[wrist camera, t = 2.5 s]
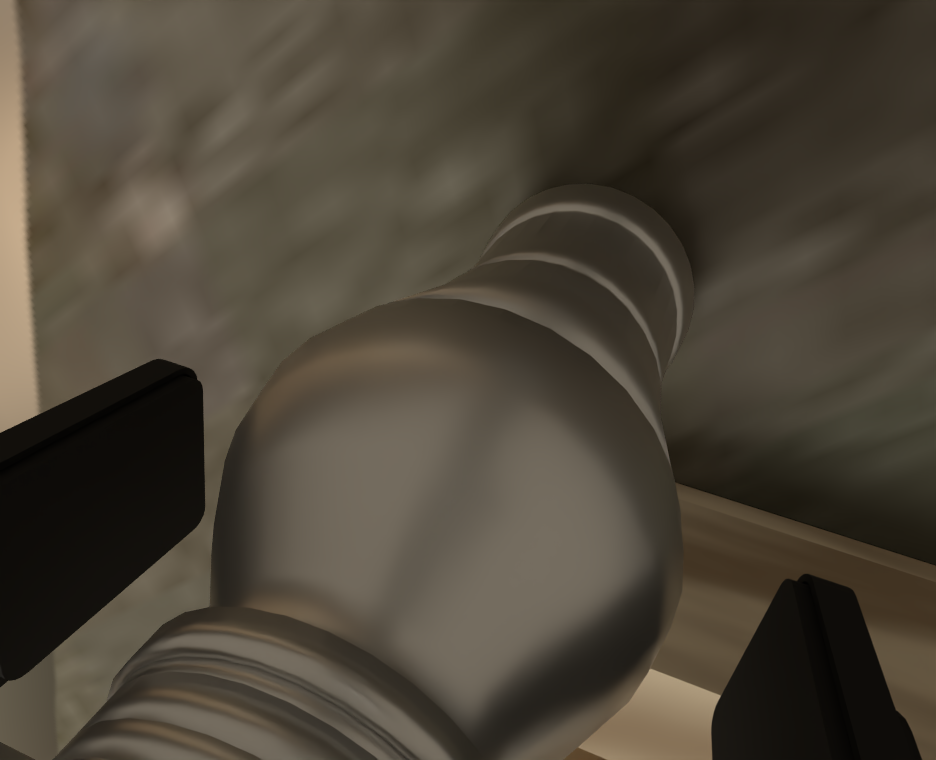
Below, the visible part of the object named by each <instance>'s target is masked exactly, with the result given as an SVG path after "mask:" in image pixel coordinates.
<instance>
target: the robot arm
mask: <svg viewBox="0 0 936 760" xmlns="http://www.w3.org/2000/svg"><path fill="white" fill-rule="evenodd" d="M204 511H205V475H204V421H203V388H202V384H201V382H200V381H198V380H197V376H196V374H195V372H194V371H193V370H192V369H190V368H187V367H184V366H181V365H178V364H175V363H172V362H169V361H166V360H163V359H156V360H152V361H150V362H148V363H146V364H144V365H142V366H140V367H137V368H135V369H133V370H131V371H129V372H127V373H125V374H123V375H121V376H119V377H116V378H114V379H112V380H110V381H108V382H106V383H104V384H102V385H100V386H98V387H96V388H93V389H91V390H89V391H87V392H85V393H83V394H81V395H79V396H77V397H75V398H72V399H70V400H68V401H66V402H64V403H62V404H60V405H58V406H56V407H54V408H52V409H49V410H47V411H45V412H43V413H41V414H39V415H37V416H35V417H33V418H31V419H28V420H26V421H24V422H22V423H20V424H18V425H16V426H14V427H12V428H10V429H7V430H5V431H3V432H1V433H0V687H1V686H2V685H4V684H5V683H6V682H7V681H8V680H9V681H10V680H16V679H18V678H20V677H22V676H23V675H25V674H26V673H28V672H29V671H30V670H31V669H32V668H34V667H35V666H36V665H37V664H38V663H39V662H41V661H42V660H43V659H44V658H45V657H46V656H48V655H49V654H50V653H51V652H52V651H53V650H54V649H56V648H57V647H58V646H59V645H60V644H61V643H63V642H64V641H65V640H66V639H67V638H68V637H70V636H71V635H72V634H73V633H74V632H75V631H77V630H78V629H79V628H80V627H81V626H82V625H84V624H85V623H86V622H87V621H88V620H89V619H90V618H92V617H93V616H94V615H95V614H96V613H97V612H99V611H100V610H101V609H102V608H103V607H104V606H106V605H107V604H108V603H109V602H110V601H111V600H113V599H114V598H115V597H116V596H117V595H118V594H120V593H121V592H122V591H123V590H124V589H125V588H126V587H128V586H129V585H130V584H131V583H132V582H133V581H135V580H136V579H137V578H138V577H139V576H140V575H142V574H143V573H144V572H145V571H146V570H147V569H149V568H150V567H151V566H152V565H153V564H154V563H156V562H157V561H158V560H159V559H160V558H161V557H162V556H164V555H165V554H166V553H167V552H168V551H169V550H171V549H172V548H173V547H174V546H175V545H176V544H178V543H179V542H180V541H181V540H182V539H183V538H185V537H186V536H187V535H188V534H189V533H190V532H192V531H193V530H194V529H195V528H196V527H197V526H198V524H199V523H200V521H201V519H202V517H203V515H204ZM711 741H712V760H922V758H921V755H920V752H919V749H918V747H917V744H916V741H915V738H914V736H913V733H912V730H911V728H910V726H909V724H908V722H907V720H906V719H905V718H904V717H903V716H902V715H901V714H900V713H899V712H898V711H896V709H895V706H894V703H893V700H892V697H891V694H890V692H889V689H888V686H887V683H886V680H885V677H884V674H883V671H882V669H881V666H880V663H879V660H878V657H877V654H876V651H875V648H874V646H873V643H872V640H871V637H870V634H869V631H868V628H867V625H866V623H865V620H864V617H863V614H862V611H861V608H860V605H859V602H858V600H857V597H856V594H855V593H854V591H853V590H852V589H851V588H849V587H847V586H844V585H840V584H837V583H834V582H831V581H828V580H825V579H822V578H819V577H816V576H813V575H810V574H803V575H802V576H801V577H799V579H798V580H797V581H795V580H792V579H785V580H784V581H783V582H782V584H781V585H780V587H779V589H778V591H777V593H776V594H775V596H774V598H773V600H772V602H771V604H770V606H769V607H768V609H767V611H766V613H765V615H764V617H763V619H762V620H761V622H760V624H759V626H758V628H757V630H756V632H755V633H754V635H753V637H752V639H751V641H750V643H749V645H748V646H747V648H746V650H745V652H744V654H743V656H742V658H741V659H740V661H739V663H738V665H737V667H736V669H735V671H734V672H733V674H732V676H731V678H730V680H729V682H728V684H727V685H726V687H725V689H724V691H723V693H722V695H721V697H720V698H719V700H718V702H717V704H716V707H715V710H714V713H713V718H712V725H711ZM0 760H35V759H33V758H31V757H29V756H27V755H25V754H23V753H20V752H19V751H17V750H15V749H13V748H11V747H9V746H7V745H5V744H3V743H1V742H0Z"/></svg>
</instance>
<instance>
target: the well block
mask: <svg viewBox="0 0 936 760" xmlns="http://www.w3.org/2000/svg"><path fill="white" fill-rule="evenodd" d="M675 485H676V490H677V495H678V500H679V504H680V509H681V526H682V539H683V549H684V555H683V582H682V594H681V597H680V600H679V603H678V606H677V610H676V613H675V616H674V619H673V622H672V626H671V628H670V630H669V632H668V634H667V636H666V638H665V640H664V642H663V644H662V646H661V648H660V650H659V652H658V654H657V656H656V658H655V660H654V662H653V664H652V666H651V668H650V670H649V672H648V674H647V675H646V677H645V678H644V680H643V681H642V683H641V684H640V686H639V687H638V689H637V690H636V692H635V693H634V695H633V696H632V698H631V699H630V701H629V702H628V703H627V704H626V705H625V706H624V707H623V708H621V709H620V710H619V711H618V712H617V713H616V714H615V715H614V716H612V717H611V718H610V719H609V720H608V721H607V722H606V723H605V724H603V725H602V726H601V727H600V728H599V729H598V730H597V731H596V732H594V733H593V734H592V735H591V736H590V737H589V738H588V739H587V740H585V741H584V742H583V743H582V744H581V745H580V746H579V747H577V748H576V749H575V750H574V751H573V752H572V753H570V754H569V755H568V756H567V757H566V758H565V759H563V760H712V741H711V725H712V718H713V713H714V710H715V707H716V704H717V702H718V700H719V698H720V697H721V695H722V693H723V691H724V689H725V687H726V685H727V684H728V682H729V680H730V678H731V676H732V674H733V672H734V671H735V669H736V667H737V665H738V663H739V661H740V659H741V658H742V656H743V654H744V652H745V650H746V648H747V646H748V645H749V643H750V641H751V639H752V637H753V635H754V633H755V632H756V630H757V628H758V626H759V624H760V622H761V620H762V619H763V617H764V615H765V613H766V611H767V609H768V607H769V606H770V604H771V602H772V600H773V598H774V596H775V594H776V593H777V591H778V589H779V587H780V585H781V584H782V582H783V581H784V580H785V579H792V580H795V581H797V580H798V579H799V577H801V576H802V575H803V574H810V575H813V576H816V577H819V578H822V579H825V580H828V581H831V582H834V583H837V584H840V585H844V586H847V587H849V588H851V589H852V590H853V591H854V593H855V594H856V597H857V600H858V602H859V605H860V608H861V611H862V614H863V617H864V620H865V623H866V625H867V628H868V631H869V634H870V637H871V640H872V643H873V646H874V648H875V651H876V654H877V657H878V660H879V663H880V666H881V669H882V671H883V674H884V677H885V680H886V683H887V686H888V689H889V692H890V694H891V697H892V700H893V703H894V706H895V709H896V711H898V712H899V713H900V714H901V715H902V716H903V717H904V718H905V719H906V720H907V722H908V724H909V726H910V728H911V730H912V733H913V736H914V738H915V741H916V744H917V747H918V749H919V752H920V755H921V758H922V760H936V566H935V565H932V564H929V563H925V562H922V561H919V560H916V559H913V558H910V557H907V556H904V555H900V554H897V553H894V552H891V551H888V550H885V549H882V548H879V547H875V546H872V545H869V544H866V543H863V542H860V541H857V540H854V539H850V538H847V537H844V536H841V535H838V534H835V533H832V532H828V531H825V530H822V529H819V528H816V527H813V526H810V525H807V524H803V523H800V522H797V521H794V520H791V519H788V518H785V517H782V516H778V515H775V514H772V513H769V512H766V511H763V510H760V509H757V508H753V507H750V506H747V505H744V504H741V503H738V502H735V501H731V500H728V499H725V498H722V497H719V496H716V495H713V494H710V493H706V492H703V491H700V490H697V489H694V488H691V487H688V486H685V485H681V484H678V483H675Z"/></svg>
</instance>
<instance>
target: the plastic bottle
mask: <svg viewBox="0 0 936 760" xmlns="http://www.w3.org/2000/svg"><path fill="white" fill-rule="evenodd" d="M693 310H694V282H693V276H692V270H691V265H690V262H689V260H688V257H687V255H686V252H685V250H684V247H683V245H682V243H681V242H680V240H679V239H678V237H677V236H676V234H675V233H674V231H673V230H672V228H671V227H670V225H669V224H668V223H667V222H666V221H665V220H664V219H663V218H662V217H661V216H660V215H659V214H658V213H657V212H656V211H655V210H654V209H653V208H651V207H650V206H648V205H647V204H645V203H644V202H642V201H640V200H639V199H637V198H636V197H634V196H632V195H630V194H627V193H625V192H622V191H620V190H617V189H615V188H612V187H606V186H601V185H595V184H567V185H563V186H559V187H555V188H551V189H547V190H544V191H542V192H540V193H538V194H536V195H534V196H532V197H530V198H528V199H526V200H525V201H524V202H522V203H521V204H520V205H519V206H517V207H516V208H515V209H514V210H512V211H511V212H510V213H509V214H508V215H507V217H506V218H505V219H504V220H503V221H502V223H501V224H500V225H499V226H498V227H497V229H496V230H495V232H494V233H493V235H492V236H491V238H490V239H489V241H488V243H487V245H486V247H485V249H484V251H483V252H482V254H481V256H480V259H479V261H478V262H477V264H476V265H475V266H474V267H473V268H472V269H470V270H469V271H467V272H466V273H464V274H462V275H460V276H458V277H456V278H455V279H453V280H451V281H450V282H448V283H446V284H445V285H442V286H439V287H436V288H433V289H430V290H426V291H423V292H420V293H417V294H414V295H411V296H408V297H405V298H402V299H399V300H396V301H393V302H390V303H388V304H385V305H379V306H376V307H374V308H372V309H370V310H368V311H366V312H363V313H361V314H359V315H357V316H355V317H352V318H350V319H348V320H346V321H344V322H342V323H340V324H338V325H336V326H334V327H332V328H330V329H328V330H326V331H324V332H322V333H320V334H318V335H315V336H313V337H311V338H309V339H308V340H307V341H306V342H305V343H303V344H302V345H301V346H300V347H299V348H297V349H296V350H295V351H294V352H292V353H291V354H290V355H289V356H288V357H286V358H285V359H284V360H283V361H282V362H281V363H280V365H279V366H278V367H277V369H276V370H275V372H274V373H273V375H272V376H271V377H270V379H269V380H268V382H267V383H266V385H265V386H264V387H263V389H262V390H261V392H260V393H259V395H258V397H257V398H256V400H255V401H254V403H253V404H252V406H251V407H250V409H249V411H248V412H247V414H246V415H245V417H244V418H243V420H242V421H241V423H240V424H239V426H238V428H237V429H236V431H235V434H234V437H233V440H232V442H231V445H230V448H229V451H228V454H227V457H226V459H225V464H224V469H223V475H222V481H221V487H220V492H219V498H218V504H217V510H216V516H215V521H214V530H213V542H212V554H211V580H210V606H209V607H208V608H203V609H199V610H194V611H189V612H185V613H183V614H181V615H179V616H177V617H176V618H174V619H172V620H170V621H168V622H167V623H165V624H163V625H162V626H161V627H160V628H159V629H158V630H157V631H156V632H155V633H154V634H153V635H152V636H151V638H150V639H149V640H148V641H147V642H146V643H145V644H144V645H143V646H142V647H141V648H140V649H139V650H138V651H137V652H136V653H135V654H134V655H133V656H132V657H131V659H130V660H129V661H128V662H127V663H126V664H125V665H124V666H123V668H122V669H121V670H120V671H119V673H118V674H117V675H116V676H115V677H114V679H113V681H112V685H111V688H110V691H109V695H108V698H107V702H106V703H105V704H104V705H103V706H102V708H101V709H100V710H99V711H98V712H97V713H96V714H95V715H94V716H93V717H92V718H91V719H90V720H89V722H88V723H87V724H86V725H85V726H84V727H83V728H82V729H81V730H80V731H79V732H78V733H77V734H76V736H75V737H74V738H73V739H72V740H71V741H70V742H69V743H68V744H67V745H66V746H65V747H64V748H63V749H62V750H61V751H60V753H59V754H58V755H57V756H56V757H55V758H54V759H53V760H563V759H565V758H566V757H567V756H568V755H569V754H570V753H572V752H573V751H574V750H575V749H576V748H577V747H579V746H580V745H581V744H582V743H583V742H584V741H585V740H587V739H588V738H589V737H590V736H591V735H592V734H593V733H594V732H596V731H597V730H598V729H599V728H600V727H601V726H602V725H603V724H605V723H606V722H607V721H608V720H609V719H610V718H611V717H612V716H614V715H615V714H616V713H617V712H618V711H619V710H620V709H621V708H623V707H624V706H625V705H626V704H627V703H628V702H629V701H630V699H631V698H632V696H633V695H634V693H635V692H636V690H637V689H638V687H639V686H640V684H641V683H642V681H643V680H644V678H645V677H646V675H647V674H648V672H649V670H650V668H651V666H652V664H653V662H654V660H655V658H656V656H657V654H658V652H659V650H660V648H661V646H662V644H663V642H664V640H665V638H666V636H667V634H668V632H669V630H670V628H671V626H672V622H673V619H674V616H675V613H676V610H677V606H678V603H679V600H680V597H681V594H682V582H683V555H684V549H683V539H682V526H681V509H680V504H679V500H678V495H677V490H676V485H675V480H674V475H673V471H672V468H671V463H670V458H669V453H668V449H667V444H666V439H665V434H664V429H663V424H662V419H661V383H662V380H663V377H664V375H665V372H666V369H667V368H668V367H669V366H670V364H671V363H672V362H673V360H674V358H675V356H676V354H677V352H678V350H679V348H680V346H681V344H682V342H683V340H684V338H685V336H686V334H687V332H688V329H689V325H690V321H691V318H692V314H693Z"/></svg>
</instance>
